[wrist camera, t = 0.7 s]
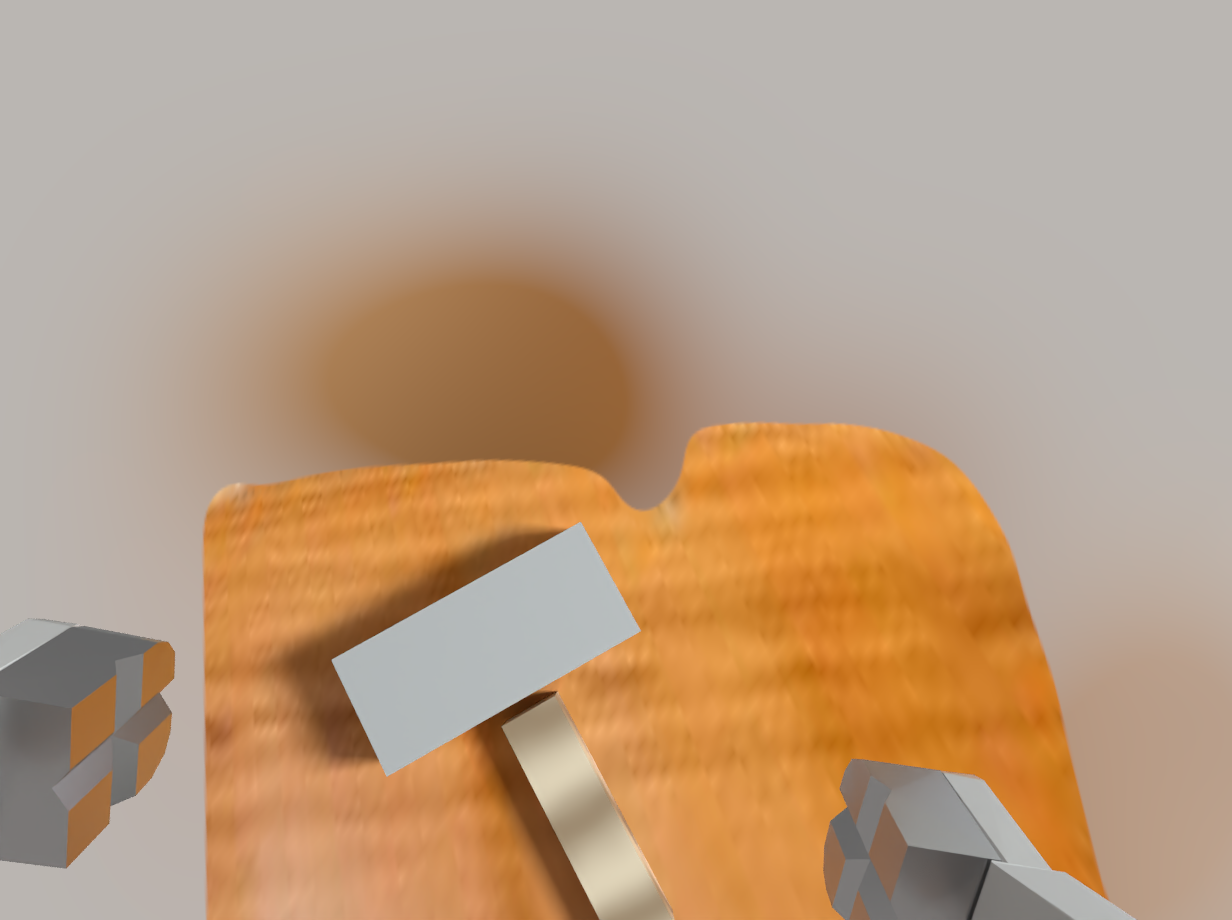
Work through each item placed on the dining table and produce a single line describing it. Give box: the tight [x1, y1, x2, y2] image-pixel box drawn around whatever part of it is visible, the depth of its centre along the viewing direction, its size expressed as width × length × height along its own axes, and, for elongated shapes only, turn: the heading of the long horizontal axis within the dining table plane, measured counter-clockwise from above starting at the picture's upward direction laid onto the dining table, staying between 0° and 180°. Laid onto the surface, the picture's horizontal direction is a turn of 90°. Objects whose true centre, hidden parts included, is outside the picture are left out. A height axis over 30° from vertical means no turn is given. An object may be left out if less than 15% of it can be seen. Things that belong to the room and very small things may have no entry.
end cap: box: [331, 522, 641, 776], centre depth 51 cm, size 8×18×5 cm, turn 119°
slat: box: [502, 691, 674, 920], centre depth 51 cm, size 16×4×3 cm, turn 29°
